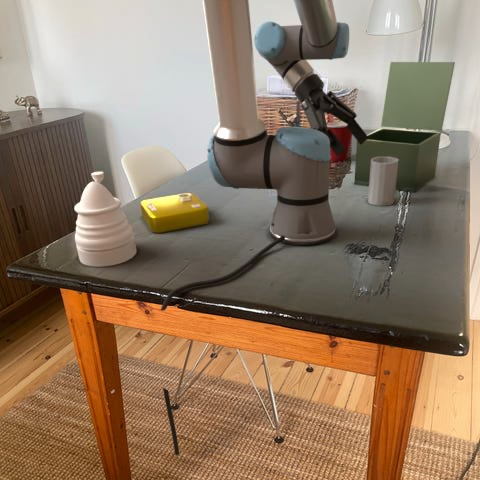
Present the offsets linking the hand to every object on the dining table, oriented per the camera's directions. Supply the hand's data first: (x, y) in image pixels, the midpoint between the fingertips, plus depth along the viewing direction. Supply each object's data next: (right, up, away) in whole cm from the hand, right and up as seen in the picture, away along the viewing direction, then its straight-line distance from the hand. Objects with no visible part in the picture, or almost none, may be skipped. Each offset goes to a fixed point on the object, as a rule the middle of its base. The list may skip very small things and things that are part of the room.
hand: (353, 146), depth 134 cm
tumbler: (+8, -14, +2) cm, 16 cm away
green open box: (+16, -4, +17) cm, 24 cm away
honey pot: (-60, -31, -18) cm, 70 cm away
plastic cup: (+4, +10, +42) cm, 43 cm away
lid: (+21, +19, +12) cm, 30 cm away
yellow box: (-47, -20, -1) cm, 51 cm away
